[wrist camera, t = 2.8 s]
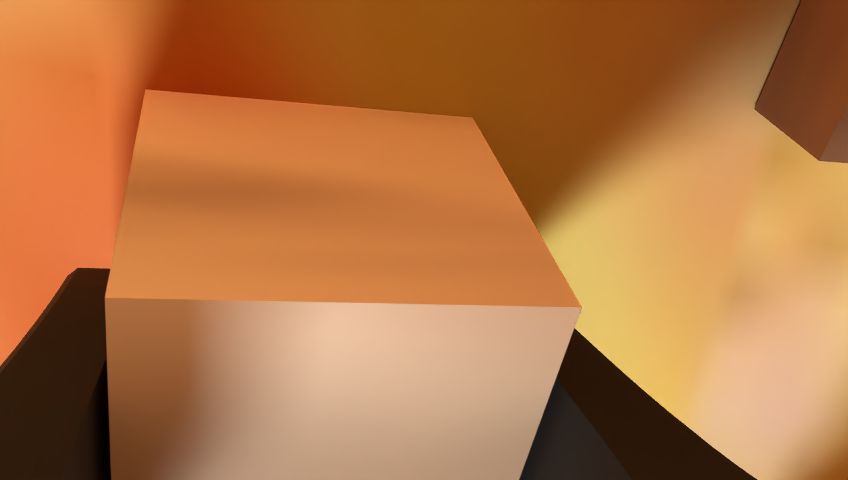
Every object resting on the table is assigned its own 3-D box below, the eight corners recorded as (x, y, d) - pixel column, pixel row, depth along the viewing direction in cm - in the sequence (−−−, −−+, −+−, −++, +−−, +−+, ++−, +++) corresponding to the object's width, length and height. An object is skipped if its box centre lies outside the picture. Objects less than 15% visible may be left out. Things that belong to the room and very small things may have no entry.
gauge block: (405, 394, 13) (464, 627, 10) (146, 397, 12) (117, 659, 9) (471, 115, 10) (582, 308, 7) (146, 86, 9) (105, 297, 6)
